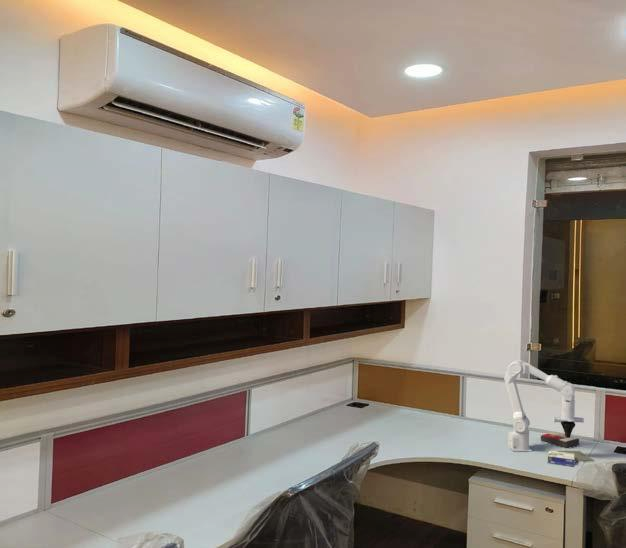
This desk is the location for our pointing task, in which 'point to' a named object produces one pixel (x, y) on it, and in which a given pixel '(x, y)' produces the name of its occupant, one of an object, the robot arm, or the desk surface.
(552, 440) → the red and black box
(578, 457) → the desk mat
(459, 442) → the desk surface
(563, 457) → the ink box
